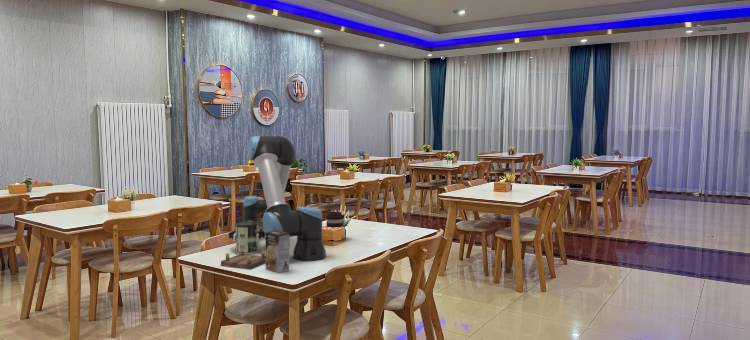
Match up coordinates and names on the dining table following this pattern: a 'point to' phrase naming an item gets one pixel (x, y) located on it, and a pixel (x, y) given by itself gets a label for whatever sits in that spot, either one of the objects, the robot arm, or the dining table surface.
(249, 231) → the coffee can
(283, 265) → the coffee box
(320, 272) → the dining table surface
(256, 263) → the standoff plate
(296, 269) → the dining table surface
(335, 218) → the coffee cup
